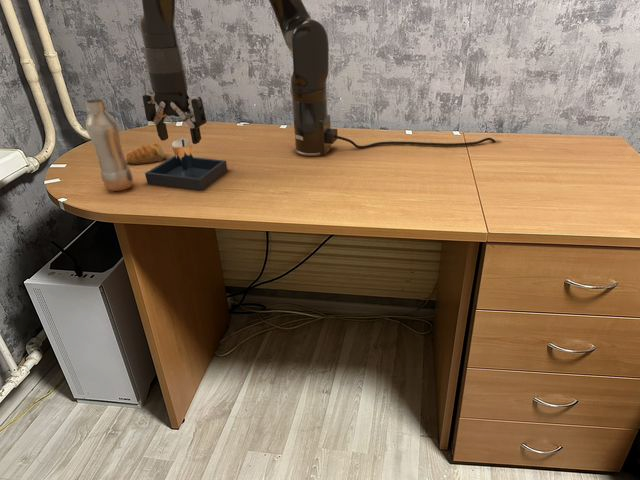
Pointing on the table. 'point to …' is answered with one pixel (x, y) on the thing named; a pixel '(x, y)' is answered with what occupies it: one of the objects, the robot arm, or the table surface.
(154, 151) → the pastry
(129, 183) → the plastic bottle
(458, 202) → the table surface
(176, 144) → the milkshake
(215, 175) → the tray
